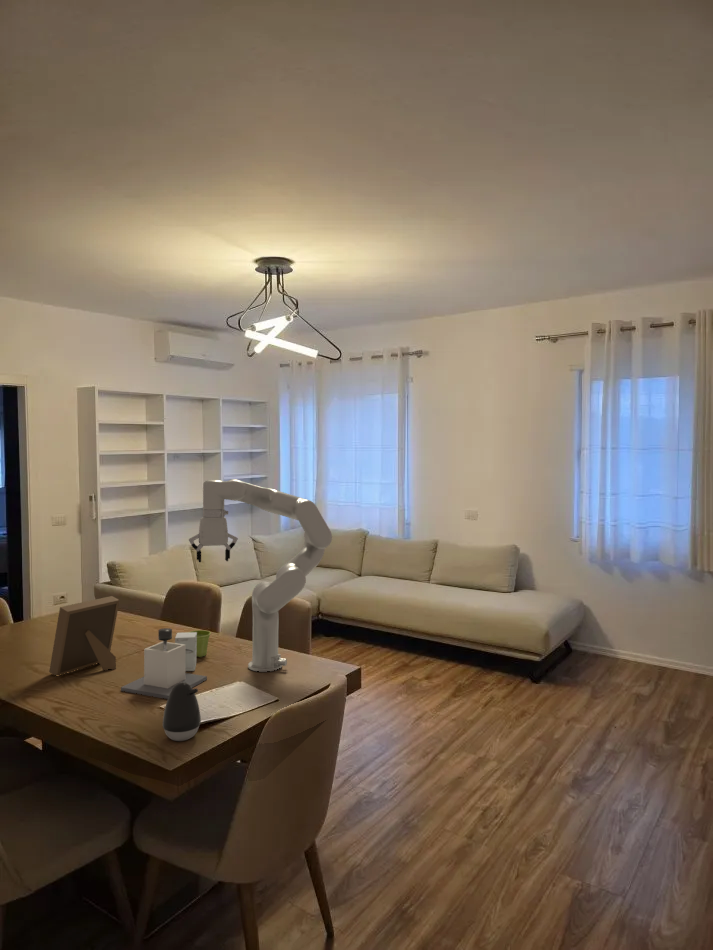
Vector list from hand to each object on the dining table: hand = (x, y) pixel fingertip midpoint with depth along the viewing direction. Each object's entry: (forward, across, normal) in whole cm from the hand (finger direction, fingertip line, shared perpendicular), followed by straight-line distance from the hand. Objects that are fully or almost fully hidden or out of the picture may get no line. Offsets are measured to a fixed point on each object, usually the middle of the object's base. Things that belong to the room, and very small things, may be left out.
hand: (213, 561), depth 228 cm
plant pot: (+40, +3, -21) cm, 46 cm away
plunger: (+39, +17, +9) cm, 43 cm away
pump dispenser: (+40, +14, +52) cm, 68 cm away
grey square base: (+40, +17, +9) cm, 45 cm away
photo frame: (+41, +42, -15) cm, 61 cm away
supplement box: (+40, +9, -6) cm, 42 cm away
